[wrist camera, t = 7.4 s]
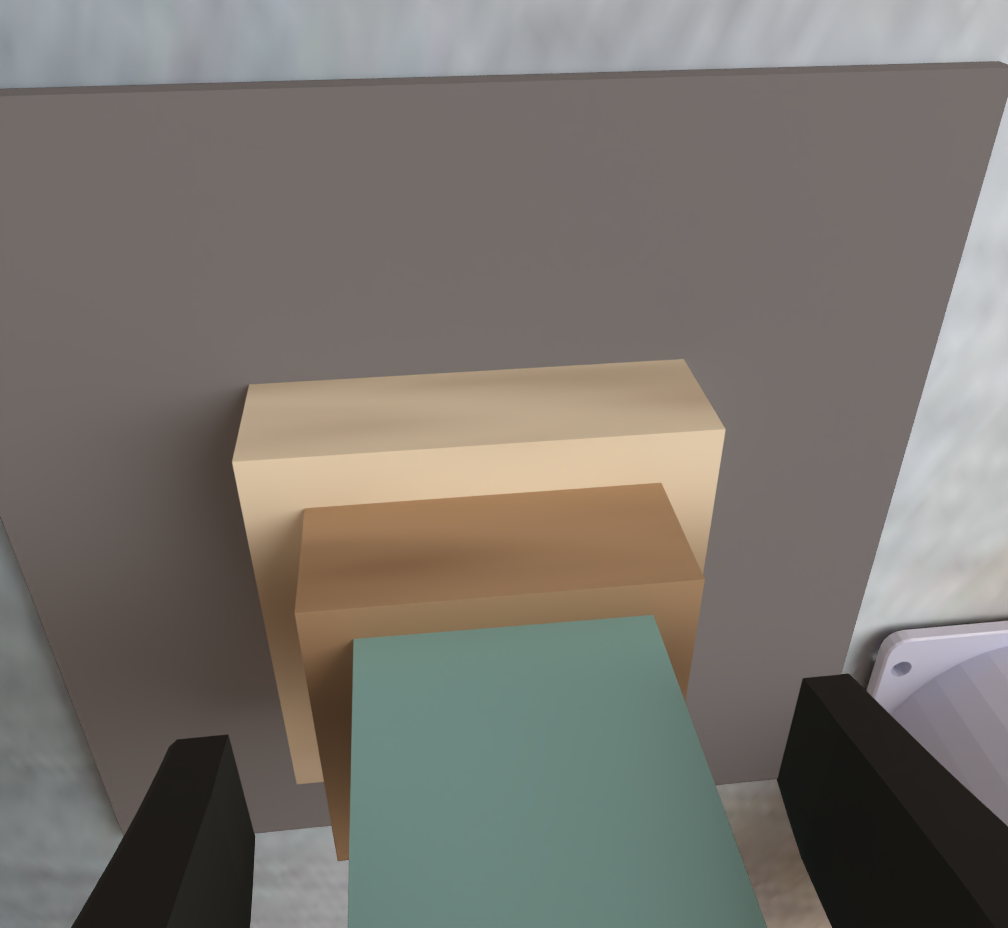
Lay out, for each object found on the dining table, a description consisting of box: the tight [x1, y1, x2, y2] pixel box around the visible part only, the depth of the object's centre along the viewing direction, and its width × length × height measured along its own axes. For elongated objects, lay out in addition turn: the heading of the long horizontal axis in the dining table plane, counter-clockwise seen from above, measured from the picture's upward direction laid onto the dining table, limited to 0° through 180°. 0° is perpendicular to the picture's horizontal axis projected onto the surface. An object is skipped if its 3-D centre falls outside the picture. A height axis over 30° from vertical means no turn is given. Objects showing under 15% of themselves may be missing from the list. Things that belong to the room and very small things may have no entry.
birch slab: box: [232, 359, 726, 784], centre depth 18 cm, size 8×8×2 cm
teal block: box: [348, 615, 767, 928], centre depth 13 cm, size 4×4×5 cm
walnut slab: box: [295, 483, 705, 861], centre depth 16 cm, size 6×6×2 cm
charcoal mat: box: [0, 61, 1008, 836], centre depth 19 cm, size 18×18×1 cm
